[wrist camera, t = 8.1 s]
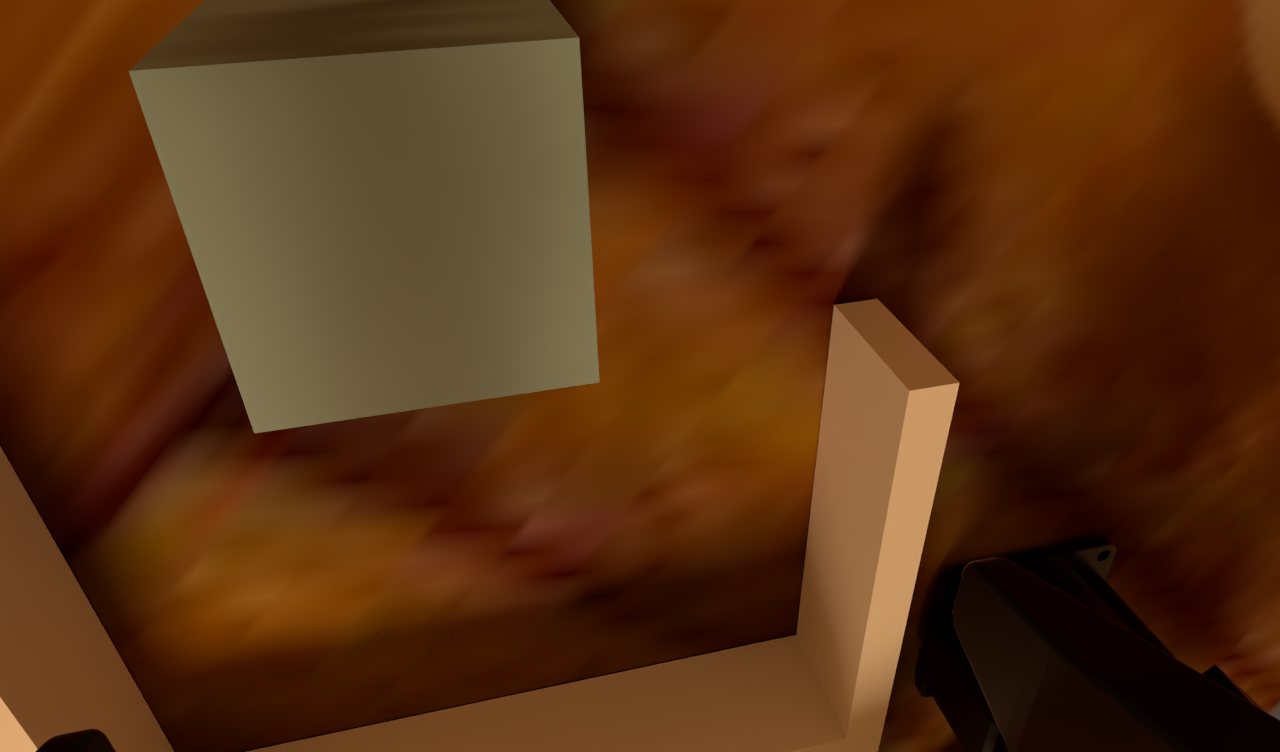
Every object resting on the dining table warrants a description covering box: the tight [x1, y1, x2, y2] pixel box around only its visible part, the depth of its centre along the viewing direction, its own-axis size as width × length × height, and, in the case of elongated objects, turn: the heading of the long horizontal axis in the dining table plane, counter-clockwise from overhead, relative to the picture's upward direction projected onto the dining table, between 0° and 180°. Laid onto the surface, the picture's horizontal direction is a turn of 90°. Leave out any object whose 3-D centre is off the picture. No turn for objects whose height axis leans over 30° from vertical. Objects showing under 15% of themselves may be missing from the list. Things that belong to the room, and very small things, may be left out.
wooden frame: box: [0, 299, 959, 752], centre depth 22 cm, size 22×14×4 cm, turn 91°
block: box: [129, 0, 599, 433], centre depth 14 cm, size 5×5×7 cm
